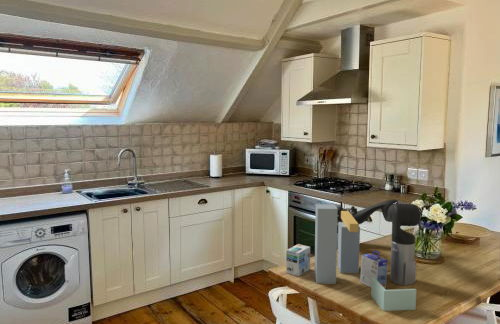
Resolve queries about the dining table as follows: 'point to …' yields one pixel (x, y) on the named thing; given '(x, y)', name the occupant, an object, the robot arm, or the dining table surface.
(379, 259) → the ink cartridge box
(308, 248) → the light bulb box
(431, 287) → the dining table surface
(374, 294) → the l-shaped corner panel
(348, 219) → the rail
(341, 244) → the low post
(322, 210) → the tall post
